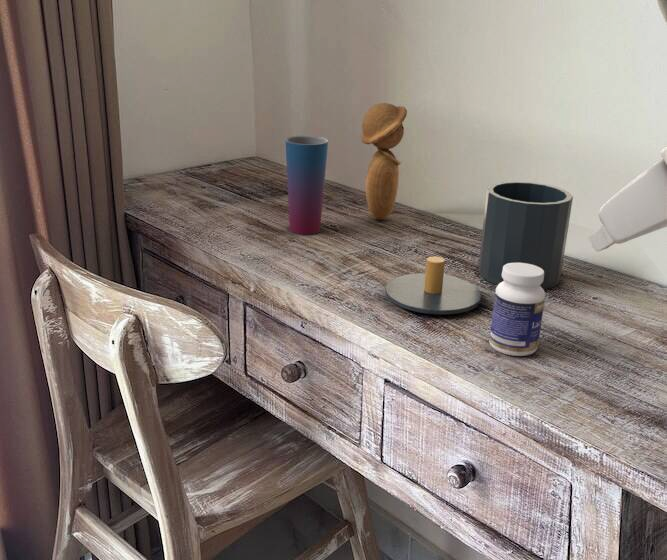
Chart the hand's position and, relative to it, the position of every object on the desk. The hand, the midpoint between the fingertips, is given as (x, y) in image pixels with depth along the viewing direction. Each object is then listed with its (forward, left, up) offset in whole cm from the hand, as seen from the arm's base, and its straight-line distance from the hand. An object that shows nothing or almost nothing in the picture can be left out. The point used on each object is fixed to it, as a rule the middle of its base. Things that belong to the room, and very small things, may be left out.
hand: (621, 234), depth 82 cm
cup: (+47, +37, -17) cm, 62 cm away
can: (+32, +4, -17) cm, 37 cm away
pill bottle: (+8, +8, -17) cm, 21 cm away
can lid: (+21, +17, -17) cm, 32 cm away
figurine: (+55, +25, -17) cm, 63 cm away
